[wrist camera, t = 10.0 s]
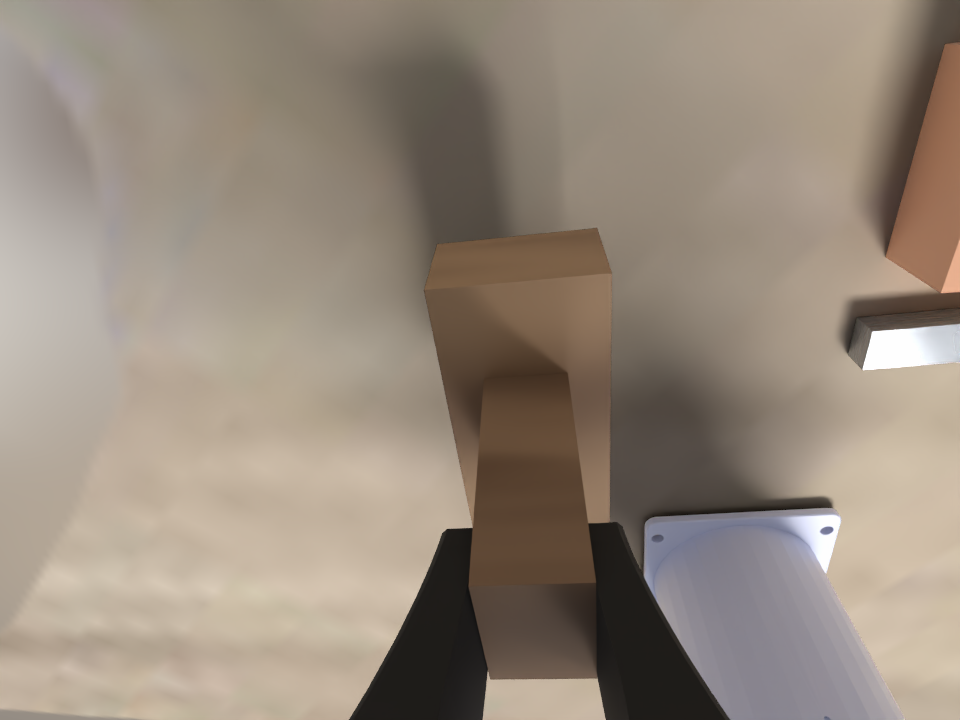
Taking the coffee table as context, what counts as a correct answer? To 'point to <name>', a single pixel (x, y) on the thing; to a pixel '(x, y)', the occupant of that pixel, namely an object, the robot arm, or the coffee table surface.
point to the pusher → (529, 436)
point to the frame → (906, 339)
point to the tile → (934, 188)
